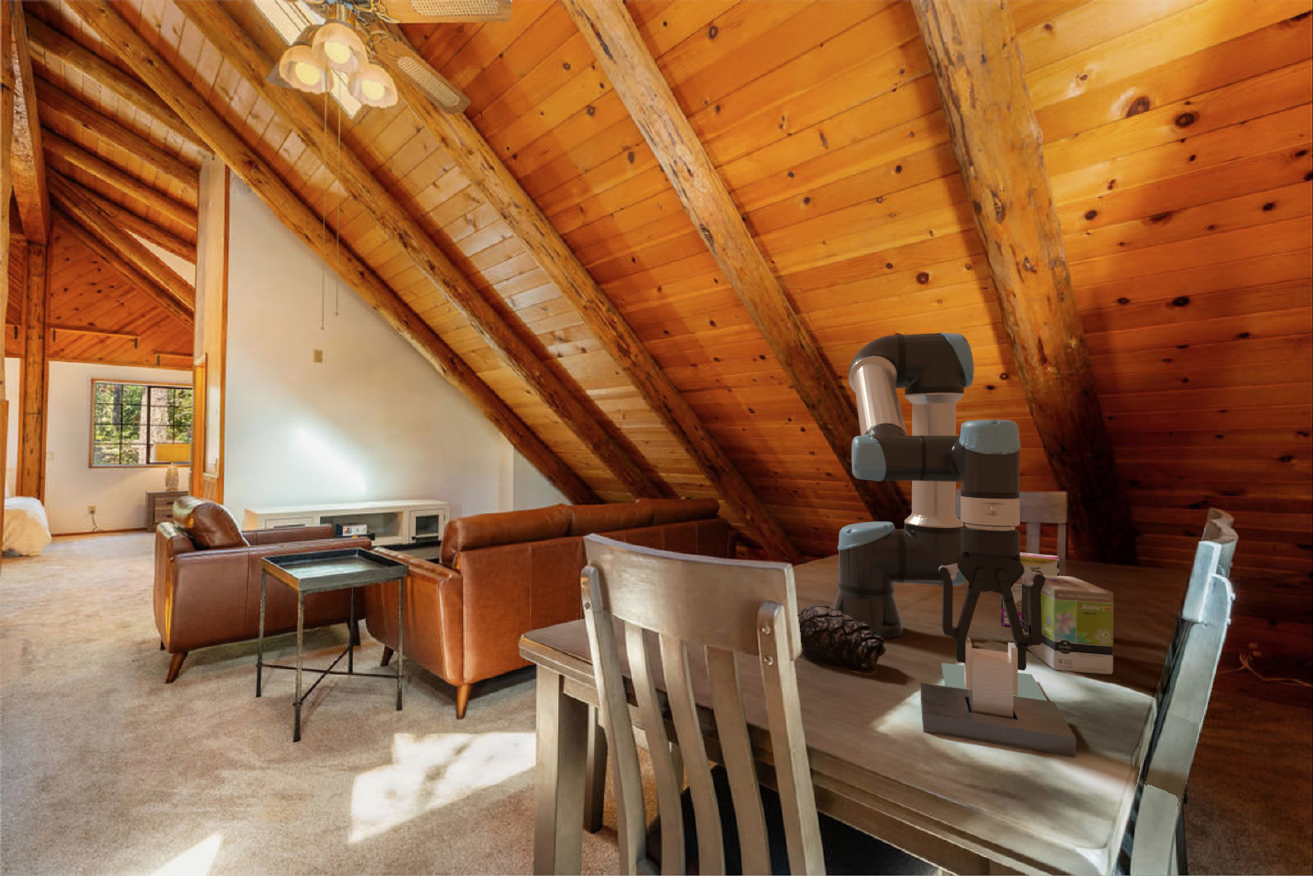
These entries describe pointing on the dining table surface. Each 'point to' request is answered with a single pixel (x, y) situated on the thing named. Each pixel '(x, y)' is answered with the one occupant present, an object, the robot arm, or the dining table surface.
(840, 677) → the dining table surface
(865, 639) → the pine cone
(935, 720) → the grey slotted board
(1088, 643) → the tea box
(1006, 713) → the pale wooden block
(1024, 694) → the pad
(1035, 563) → the candy bar box
